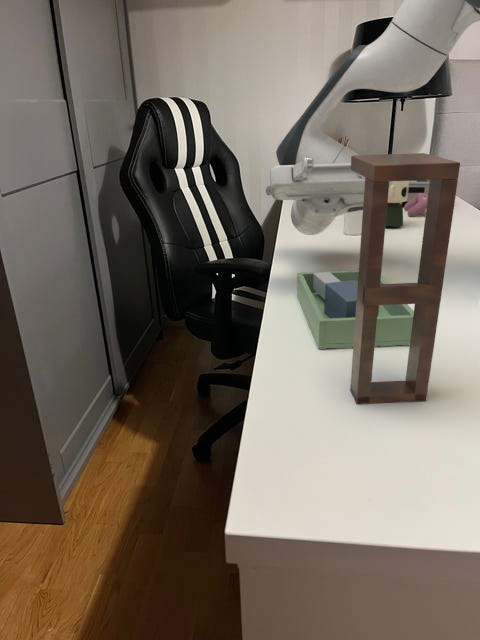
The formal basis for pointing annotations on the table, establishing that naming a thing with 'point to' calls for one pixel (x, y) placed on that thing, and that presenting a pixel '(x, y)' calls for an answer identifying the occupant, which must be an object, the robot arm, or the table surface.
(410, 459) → the table surface
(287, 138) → the robot arm
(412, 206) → the video game controller
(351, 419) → the table surface
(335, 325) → the tray
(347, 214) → the eye dropper bottle
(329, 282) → the slate grey square prism
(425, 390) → the shelf stand
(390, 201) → the character mug
